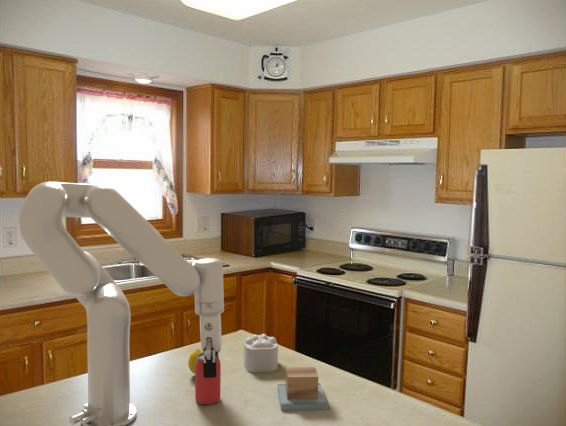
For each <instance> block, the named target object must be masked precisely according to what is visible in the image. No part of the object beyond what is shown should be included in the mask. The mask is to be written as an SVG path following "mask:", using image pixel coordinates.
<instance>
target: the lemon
mask: <svg viewBox="0 0 566 426" xmlns="http://www.w3.org/2000/svg"><path fill="white" fill-rule="evenodd" d="M201 353H203V352H202V350H201V349H199V348H196V349H195V350H193V351H192V352H191V353H190V355H189V357H188V364H187V365H188V368H189V370H190V372H192V374H195V365H196V361H197V359H198V358H197V357H198V355H199V354H201Z"/></svg>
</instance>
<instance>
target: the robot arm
mask: <svg viewBox="0 0 566 426" xmlns="http://www.w3.org/2000/svg"><path fill="white" fill-rule="evenodd" d="M20 208H21V209H20V210H19V215H18V216H19V217H18V225H19V232H20V235H21V237H22V239H23V241H24V242H25V244H26V245H27V247H28V248H29V250H30V251H31V252H32V253H33V255H34V256H35V257H36V258H37V259H38V260H39V262H40V264H41V265H42V266H43V267H44V268H45V269H46V271H48V273H49V274H50V275H51V276H52V277H53V278H54V280H55V281H56V282H57V284H58V286H60V288H61V289H62V290H63V291H64V292H66V293H67V294H69V295H71V296H74V297H75V298H76V300H77V301H78V302H79V303H80V304H81V305H82V306H83V308H84V309H85V311H86V312H85V313H86V322H87V323H86V325H87V328H86V329H87V333H86V336H87V337H86V339H87V346H86V349H87V355H86V357H87V401H88V402H87V403H85V404H83V409H82V410H81V411H80V412H79V413H76V414H74V415H72V416H69V418H68V419H69V423H70V425H71V426H74V425H76V424H78V423H80V422H81V424H82V426H127V425H129V424H130V423H132V422H133V421H134V420H135V419H136V417H137V408H136V406H135V405H134V404H132V403H131V396H130V395H131V392H130V391H131V388H130V387H131V384H130V383H131V382H130V377H131V375H130V374H131V373H130V370H131V368H130V367H131V365H130V333H131V332H130V330H131V320H132V319H131V317H132V316H131V307H130V303H129V301H128V298H127V297H126V295H125V293H124V292H123V289H121V288H120V286H119V285H118V284H117V282H116V281H114V279H113V278H112V277H111V275H109V273H108V272H107V271H106V270H105V268H104V267H103V265H102V264H100V262H99V261H98V260H97V259H96V257H95V256H94V255H92V254H91V253H90V252H87V251H86V250H83V248H82V247H81V246H80V245H79V244H78V242H77V241H76V240H75V239H74V237H73V236H72V235H71V233H70V232H68V230H67V228H66V227H65V226H64V223H63V222H64V221H63V218H84V219H85V218H91V219H92V220H93V222H95V224H97V225H98V226H99V227H100V229H101V228H102V229H103V231H105V232H106V233H107V234H108V235H109V236H110V237H111V238H112V239H113V240H114V241H115V242H116V243H117V244H119V246H120V247H122V248H123V249H124V250H125V251H126V252H127V253H128V254H129V255H131V256H132V257H133V258H134V259H136V260H137V261H139V262H140V263H141V264H142V265H143V266H144V267H146V268H147V269H148V270H149V271H150V273H152V274H153V275H154V276H155V277H156V278H157V279H159V280H160V281H161V283H163V284H164V285H165V286H166V287H167V288H168V289H169V290H170V291H171V292H172V293H174V294H175V295H177V296H179V297H188V296H191V295H193V294H194V313H195V314H196V315H197V316H199V332H200V333H199V336H200V350H202V352H203V353H204V362H203V372H204V378H212V377H216V361H215V353H216V354H218V355H219V353H220V352H221V349H222V343H223V342H222V341H223V336H222V335H223V334H222V316H221V314H223V313H224V312H225V300H224V297H225V292H224V264H223V262H222V261H221V260H220V259H218V258H212V257H207V258H200V259H185V258H184V257H183V256H182V254H180V252H179V251H177V250H176V249H175V248H174V247H173V246H172V245H171V243H169V242H168V241H167V240H166V239H165V238H164V237H163V236H162V235H161V233H160V232H159V231H158V230H157V229H156V228H155V227H154V226H153V225H152V224H151V223H150V222H149V221H148V220H147V219H146V218H145V217H144V216H143V215H142V214H141V213H140V212H139V211H138V210H137V209H136V208H135V207H133V205H131V204H130V202H129V201H127V200H126V198H125V197H123V196H122V195H121V194H120V193H119V192H118V191H117V190H116V189H115V188H113V187H112V186H110V185H106V184H101V183H100V184H99V183H97V184H96V183H95V184H94V183H91V184H90V183H76V182H62V181H61V182H60V181H44V182H43V181H42V182H41V183H38V184H36V185H35V186H33V187H32V188H31V189H30V191H29V192H28V193H27V195H26V197H25V199H24V201H23V203H22V205H21V207H20ZM211 354H213V356H212V355H211Z"/></svg>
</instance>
